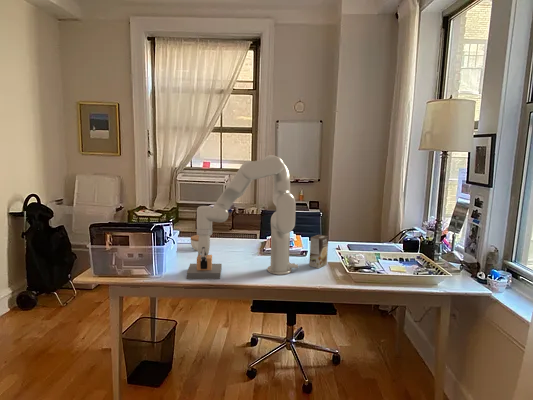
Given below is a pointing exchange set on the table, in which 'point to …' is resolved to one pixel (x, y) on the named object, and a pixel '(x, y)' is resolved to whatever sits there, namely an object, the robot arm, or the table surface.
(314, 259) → the coffee box
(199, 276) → the socket
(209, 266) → the plug
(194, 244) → the lidded jar
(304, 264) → the table surface
